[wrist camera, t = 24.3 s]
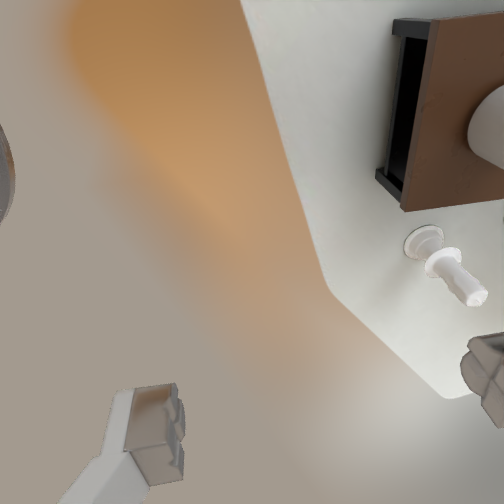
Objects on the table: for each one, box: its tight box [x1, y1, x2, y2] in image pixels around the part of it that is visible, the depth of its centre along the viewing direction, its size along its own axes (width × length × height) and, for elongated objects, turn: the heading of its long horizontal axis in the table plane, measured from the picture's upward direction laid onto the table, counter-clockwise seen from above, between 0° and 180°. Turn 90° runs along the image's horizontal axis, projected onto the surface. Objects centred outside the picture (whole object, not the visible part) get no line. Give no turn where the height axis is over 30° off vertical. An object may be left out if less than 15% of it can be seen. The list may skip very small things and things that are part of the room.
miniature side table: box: [375, 11, 504, 212], centre depth 33 cm, size 14×16×10 cm
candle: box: [404, 225, 488, 307], centre depth 43 cm, size 5×5×12 cm
